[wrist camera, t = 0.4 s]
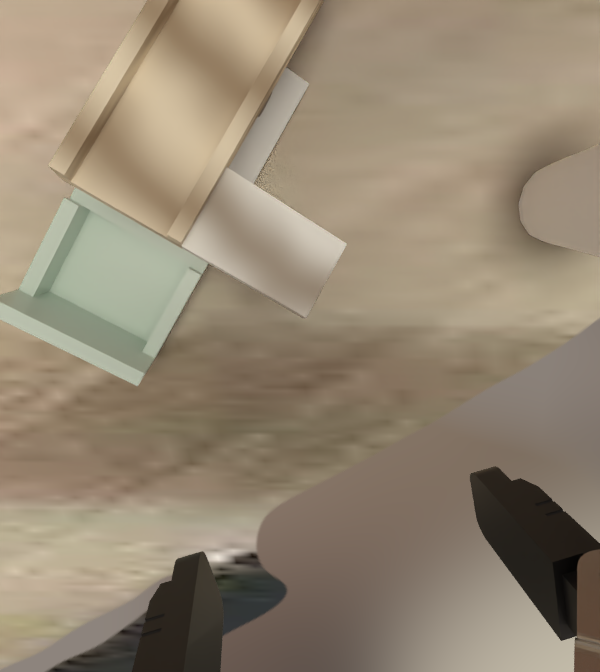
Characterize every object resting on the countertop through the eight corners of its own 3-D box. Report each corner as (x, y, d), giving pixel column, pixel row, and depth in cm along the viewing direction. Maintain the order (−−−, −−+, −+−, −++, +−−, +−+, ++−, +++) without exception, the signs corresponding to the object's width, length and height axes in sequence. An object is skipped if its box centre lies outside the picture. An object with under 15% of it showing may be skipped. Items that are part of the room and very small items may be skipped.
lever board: (241, -95, 27) (252, -188, 22) (435, 60, 30) (483, 10, 25) (71, 189, 26) (42, 160, 21) (294, 317, 29) (315, 318, 24)
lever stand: (183, -1, 31) (171, -50, 25) (307, 87, 33) (320, 60, 28) (129, 106, 32) (107, 82, 26) (252, 185, 34) (255, 177, 29)
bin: (88, 188, 33) (48, 178, 26) (211, 259, 35) (204, 267, 28) (34, 294, 34) (-16, 311, 27) (156, 356, 36) (137, 386, 29)
